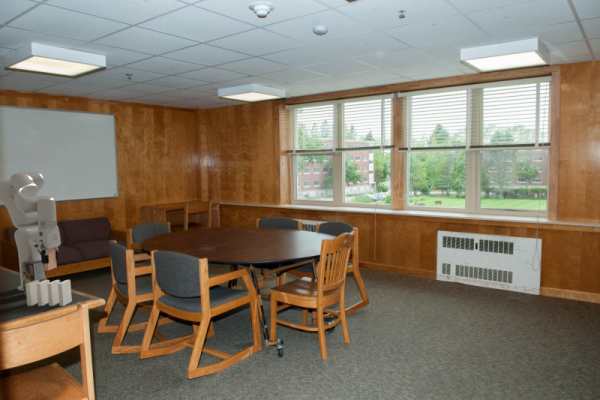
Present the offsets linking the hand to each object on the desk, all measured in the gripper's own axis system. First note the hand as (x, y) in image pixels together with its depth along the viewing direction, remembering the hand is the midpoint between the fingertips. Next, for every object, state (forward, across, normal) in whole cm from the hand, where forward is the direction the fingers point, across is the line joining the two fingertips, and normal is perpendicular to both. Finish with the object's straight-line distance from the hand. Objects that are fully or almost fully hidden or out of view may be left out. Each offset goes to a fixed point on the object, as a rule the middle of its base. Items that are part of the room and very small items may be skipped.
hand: (50, 261), depth 194 cm
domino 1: (+17, -10, +2) cm, 20 cm away
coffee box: (+18, +5, +12) cm, 22 cm away
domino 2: (+17, -10, -3) cm, 20 cm away
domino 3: (+4, 0, 0) cm, 4 cm away
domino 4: (+17, -10, -8) cm, 21 cm away
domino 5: (+17, -10, -13) cm, 23 cm away
